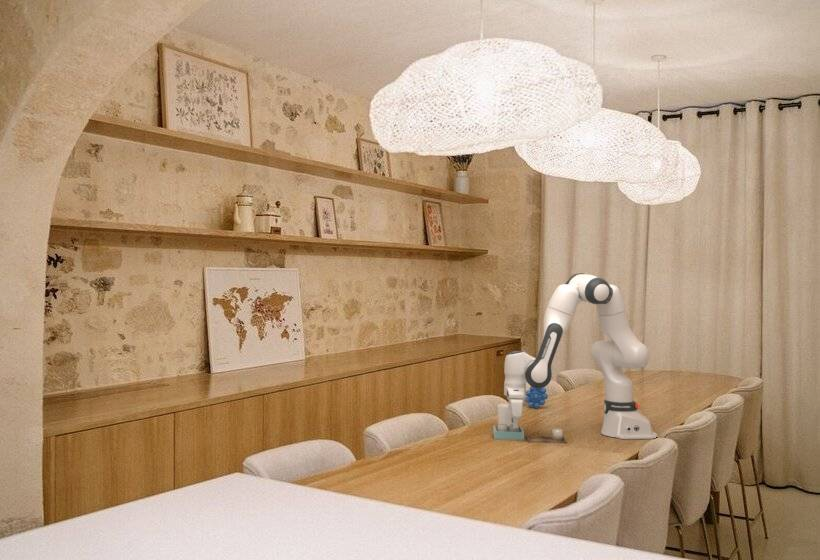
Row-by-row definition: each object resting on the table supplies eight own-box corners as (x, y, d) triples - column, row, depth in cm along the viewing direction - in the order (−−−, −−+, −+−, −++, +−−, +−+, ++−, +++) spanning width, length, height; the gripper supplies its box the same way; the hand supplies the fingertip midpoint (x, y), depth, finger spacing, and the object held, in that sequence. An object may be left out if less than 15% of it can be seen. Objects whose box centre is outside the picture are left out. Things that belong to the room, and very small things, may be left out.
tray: (563, 439, 297) (563, 436, 297) (566, 444, 288) (566, 441, 288) (525, 438, 298) (526, 435, 298) (528, 443, 289) (528, 440, 289)
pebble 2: (518, 435, 301) (518, 424, 301) (519, 437, 297) (519, 426, 297) (508, 435, 301) (509, 424, 301) (509, 437, 297) (509, 426, 297)
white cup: (514, 431, 312) (515, 407, 312) (496, 430, 314) (496, 406, 314) (516, 427, 320) (516, 404, 320) (497, 426, 321) (498, 403, 321)
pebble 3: (561, 439, 295) (561, 428, 295) (562, 441, 291) (563, 430, 291) (551, 439, 295) (551, 428, 295) (552, 441, 291) (552, 430, 291)
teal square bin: (521, 434, 305) (521, 426, 305) (524, 441, 293) (524, 432, 293) (492, 434, 305) (493, 425, 305) (494, 440, 294) (494, 431, 294)
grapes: (550, 408, 368) (550, 384, 368) (546, 410, 362) (546, 385, 362) (527, 406, 373) (527, 382, 373) (523, 408, 367) (523, 383, 367)
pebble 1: (507, 435, 301) (507, 424, 301) (506, 437, 297) (507, 426, 297) (497, 434, 302) (497, 423, 302) (496, 436, 298) (497, 425, 298)
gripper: (505, 386, 310) (504, 419, 310) (509, 394, 289) (508, 430, 289) (520, 387, 309) (520, 420, 309) (525, 395, 289) (524, 430, 289)
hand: (514, 425), depth 299 cm, fingers open, 8 cm apart
